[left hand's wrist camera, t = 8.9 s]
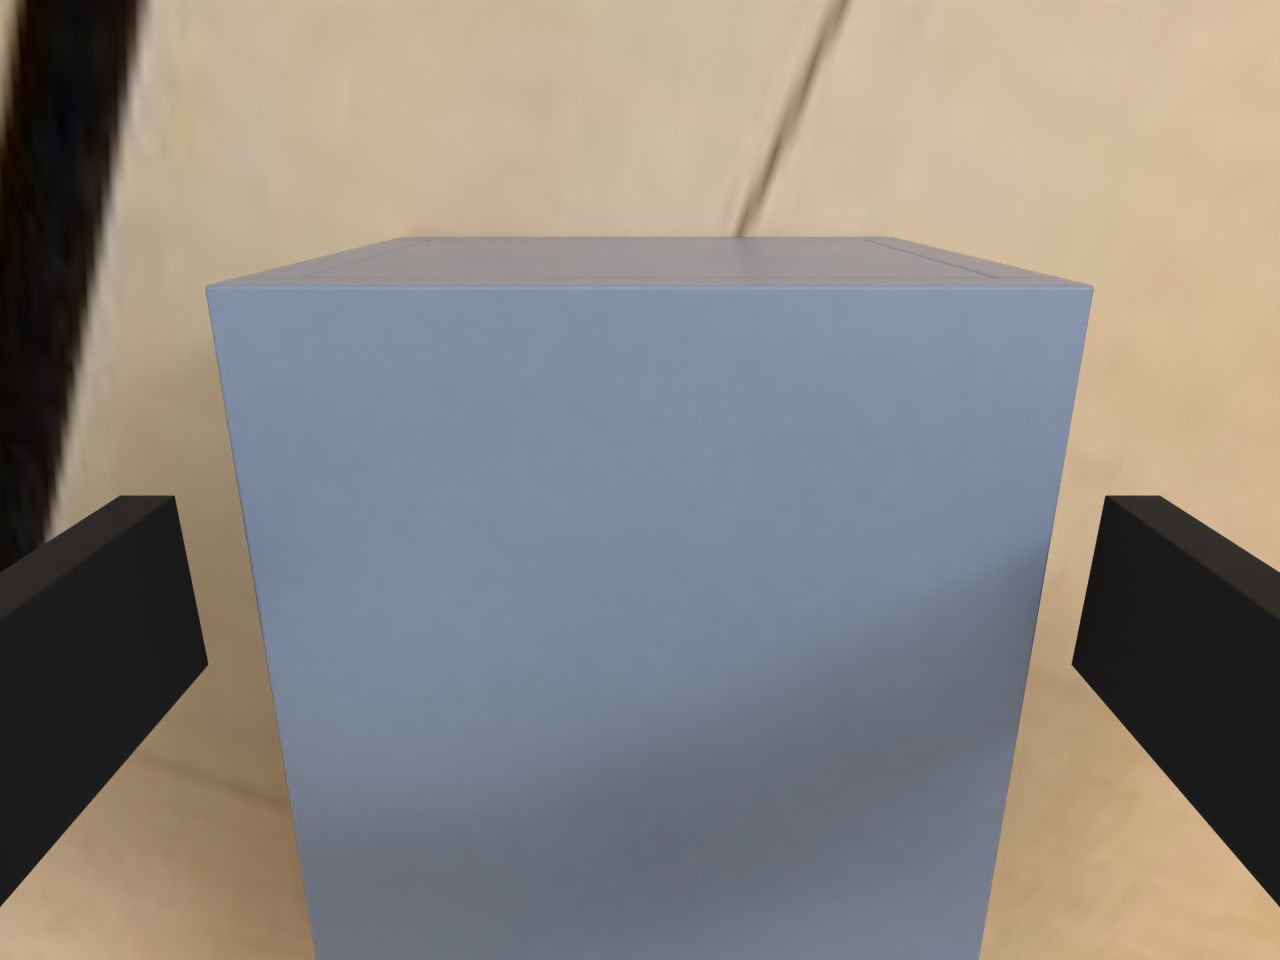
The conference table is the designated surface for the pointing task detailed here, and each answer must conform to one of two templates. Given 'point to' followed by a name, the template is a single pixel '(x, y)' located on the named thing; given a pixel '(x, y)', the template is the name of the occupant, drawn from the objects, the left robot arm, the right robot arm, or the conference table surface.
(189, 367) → the conference table surface
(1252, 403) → the conference table surface
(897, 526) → the cabinet
